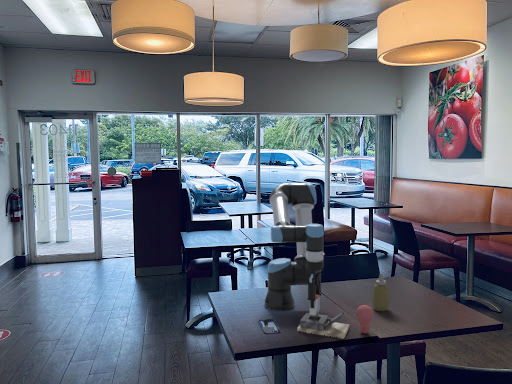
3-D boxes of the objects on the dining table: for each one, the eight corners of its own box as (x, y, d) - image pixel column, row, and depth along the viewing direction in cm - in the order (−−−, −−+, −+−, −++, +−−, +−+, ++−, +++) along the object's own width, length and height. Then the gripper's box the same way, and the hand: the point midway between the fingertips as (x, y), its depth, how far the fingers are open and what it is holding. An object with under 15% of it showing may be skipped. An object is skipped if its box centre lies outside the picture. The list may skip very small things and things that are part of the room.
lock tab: (326, 328, 175) (324, 325, 176) (329, 324, 180) (327, 321, 180) (342, 318, 172) (340, 315, 173) (344, 313, 177) (342, 311, 177)
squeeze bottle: (390, 313, 197) (390, 276, 196) (372, 311, 199) (373, 275, 197) (388, 307, 205) (388, 271, 204) (371, 306, 207) (371, 270, 205)
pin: (310, 325, 179) (310, 295, 178) (311, 322, 182) (312, 292, 181) (317, 326, 178) (317, 295, 177) (319, 323, 181) (319, 293, 180)
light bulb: (370, 329, 178) (370, 302, 177) (375, 336, 171) (376, 308, 170) (354, 329, 178) (354, 302, 177) (358, 336, 171) (359, 308, 170)
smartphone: (264, 333, 174) (257, 319, 189) (264, 335, 174) (257, 321, 189) (281, 332, 175) (273, 318, 190) (281, 334, 176) (273, 320, 190)
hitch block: (297, 331, 177) (297, 321, 177) (305, 321, 188) (305, 311, 188) (343, 338, 169) (344, 328, 169) (349, 327, 180) (349, 317, 180)
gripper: (317, 265, 168) (317, 321, 170) (328, 256, 185) (327, 306, 186) (300, 264, 171) (300, 318, 173) (311, 254, 188) (311, 304, 189)
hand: (314, 312), depth 180 cm, fingers open, 5 cm apart
